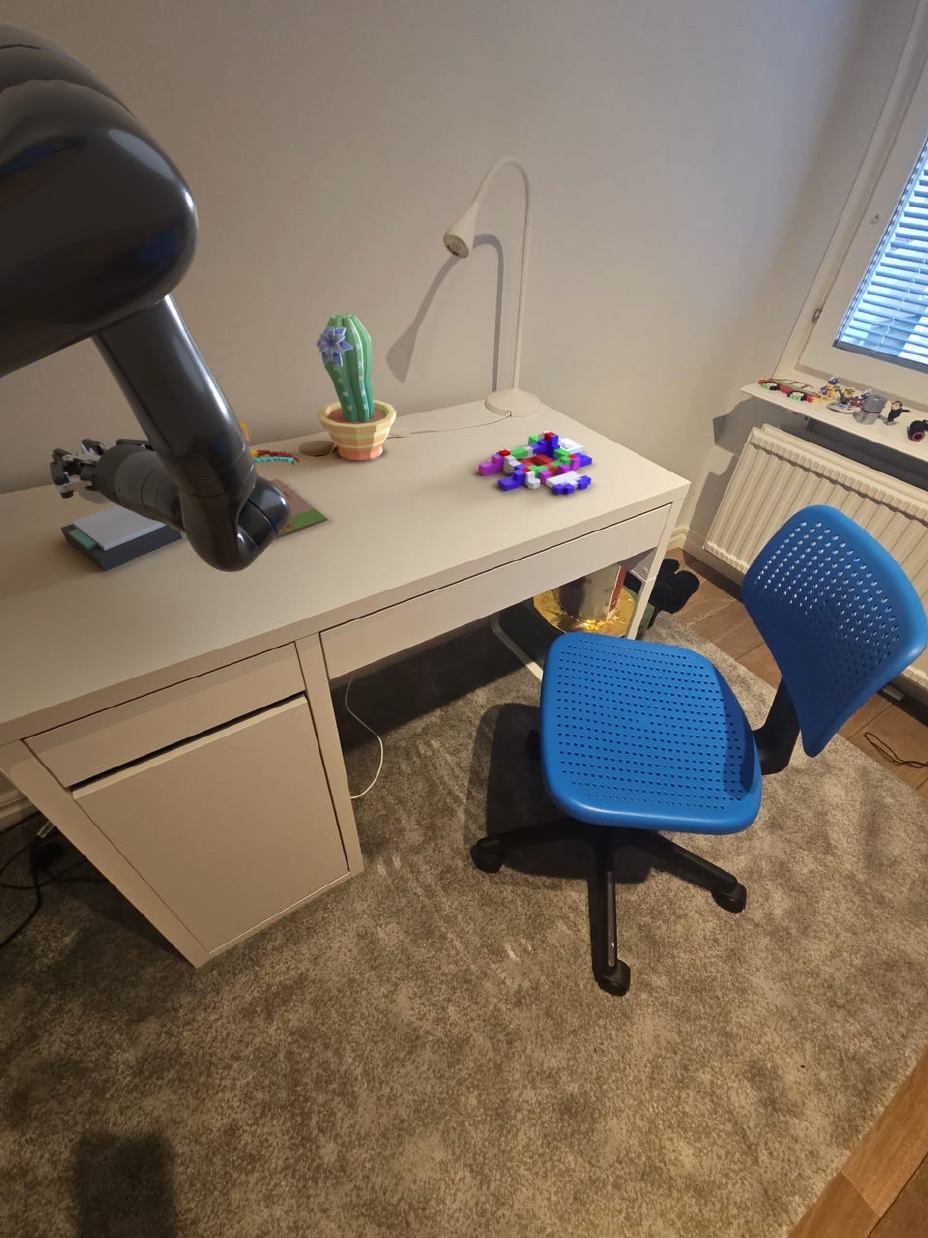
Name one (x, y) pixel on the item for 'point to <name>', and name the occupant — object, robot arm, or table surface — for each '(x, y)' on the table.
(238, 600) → the table surface
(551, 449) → the building block set
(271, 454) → the figurine
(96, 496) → the white sculpted piece
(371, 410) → the potted cactus
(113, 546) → the scale
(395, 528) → the table surface
